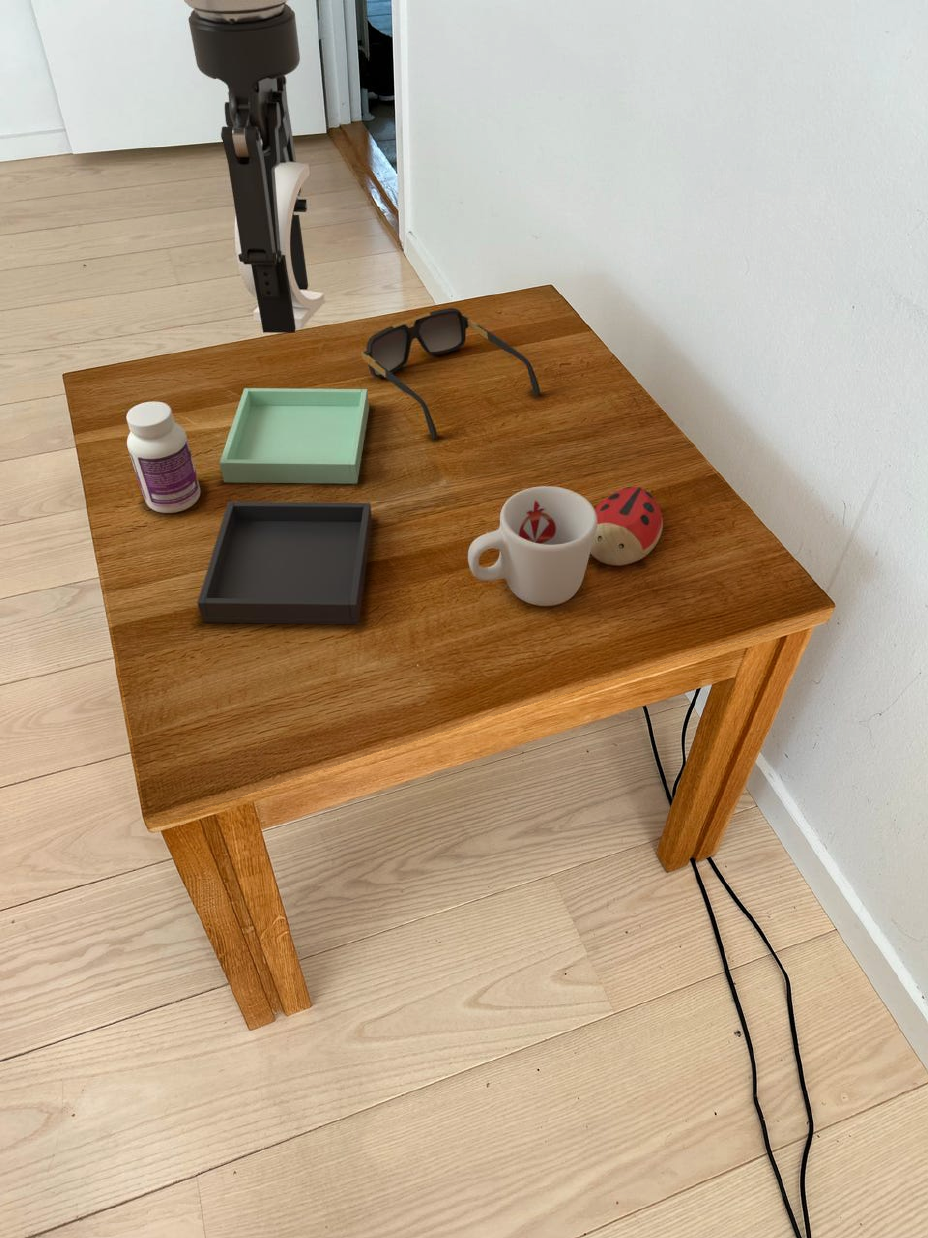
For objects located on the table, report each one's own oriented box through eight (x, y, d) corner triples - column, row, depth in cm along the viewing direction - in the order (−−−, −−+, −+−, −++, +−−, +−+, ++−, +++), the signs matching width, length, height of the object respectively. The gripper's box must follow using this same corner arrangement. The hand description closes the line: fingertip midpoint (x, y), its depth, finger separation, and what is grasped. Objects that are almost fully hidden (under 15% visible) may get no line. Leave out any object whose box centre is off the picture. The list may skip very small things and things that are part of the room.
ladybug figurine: (571, 558, 84) (574, 529, 81) (604, 495, 90) (608, 465, 87) (642, 579, 82) (648, 549, 79) (672, 513, 88) (678, 483, 85)
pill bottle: (213, 492, 90) (192, 407, 83) (174, 522, 87) (149, 436, 80) (173, 474, 92) (149, 390, 85) (133, 502, 89) (105, 418, 82)
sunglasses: (434, 440, 96) (433, 399, 93) (358, 376, 105) (355, 335, 101) (539, 396, 102) (542, 355, 98) (459, 338, 110) (459, 299, 107)
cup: (481, 632, 77) (482, 562, 72) (456, 569, 83) (455, 499, 77) (602, 607, 79) (612, 537, 74) (570, 547, 85) (577, 477, 79)
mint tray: (223, 482, 91) (219, 462, 90) (248, 406, 101) (244, 387, 99) (357, 483, 91) (355, 464, 89) (369, 407, 100) (367, 388, 99)
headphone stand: (325, 301, 84) (308, 163, 75) (296, 334, 80) (276, 192, 72) (279, 294, 85) (257, 157, 76) (248, 326, 81) (222, 185, 73)
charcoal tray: (202, 622, 78) (197, 602, 77) (232, 521, 87) (228, 501, 86) (358, 624, 78) (356, 604, 76) (372, 522, 87) (370, 502, 85)
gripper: (269, 48, 59) (313, 369, 75) (312, -28, 72) (341, 257, 89) (152, 48, 59) (221, 368, 75) (217, -28, 73) (263, 256, 89)
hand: (286, 307), depth 82 cm, fingers closed on headphone stand, 7 cm apart
